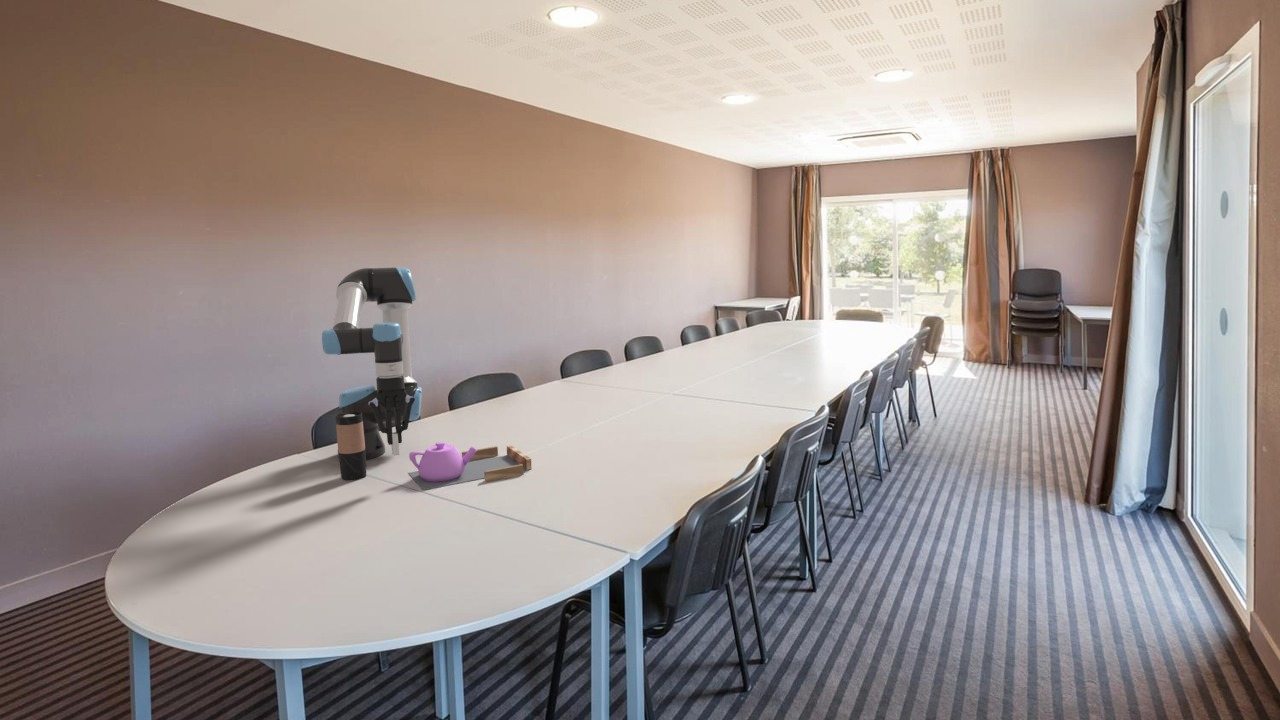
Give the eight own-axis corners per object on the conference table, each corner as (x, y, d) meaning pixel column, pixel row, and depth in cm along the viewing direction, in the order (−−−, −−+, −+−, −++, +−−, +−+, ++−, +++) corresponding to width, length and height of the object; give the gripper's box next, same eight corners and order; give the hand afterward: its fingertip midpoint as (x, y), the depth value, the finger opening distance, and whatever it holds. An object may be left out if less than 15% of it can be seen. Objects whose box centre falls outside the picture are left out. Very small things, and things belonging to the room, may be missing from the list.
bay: (462, 460, 215) (461, 450, 214) (507, 452, 223) (507, 442, 223) (486, 481, 194) (485, 470, 194) (535, 472, 203) (535, 461, 202)
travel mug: (357, 481, 196) (352, 417, 192) (335, 480, 197) (329, 416, 194) (372, 473, 203) (367, 411, 200) (350, 472, 204) (345, 410, 201)
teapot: (480, 478, 197) (478, 444, 195) (411, 486, 190) (408, 452, 188) (475, 464, 210) (473, 433, 208) (410, 472, 203) (408, 439, 201)
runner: (408, 473, 203) (408, 472, 203) (511, 454, 221) (511, 454, 220) (422, 490, 188) (422, 489, 188) (531, 469, 205) (531, 468, 205)
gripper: (368, 380, 181) (374, 461, 184) (416, 375, 188) (421, 453, 191) (363, 376, 187) (370, 455, 191) (410, 372, 194) (415, 448, 197)
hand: (395, 454), depth 191 cm, fingers closed
